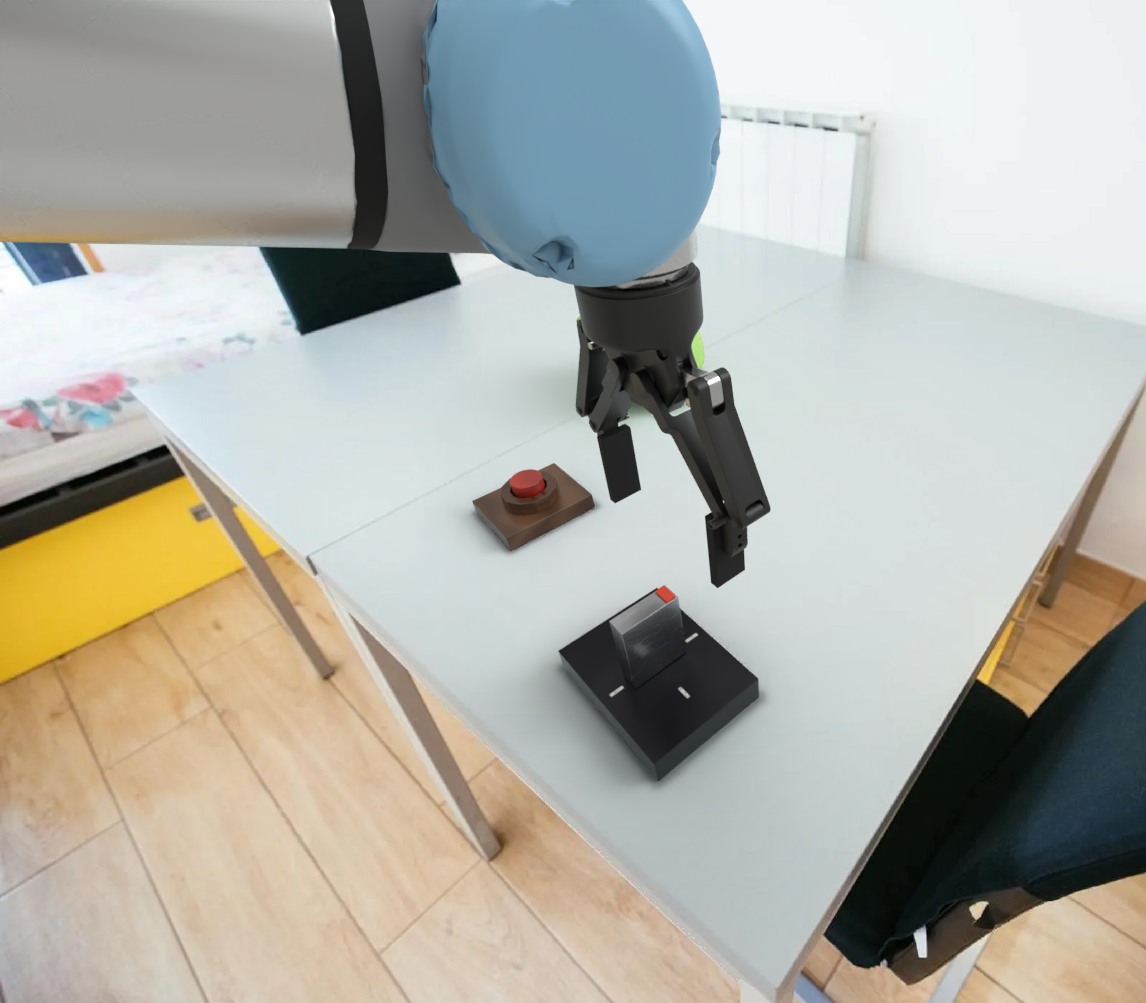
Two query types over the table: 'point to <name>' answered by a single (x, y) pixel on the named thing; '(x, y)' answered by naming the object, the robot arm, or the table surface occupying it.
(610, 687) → the panel
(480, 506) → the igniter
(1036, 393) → the table surface
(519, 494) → the button
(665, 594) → the red-tipped metal bar
